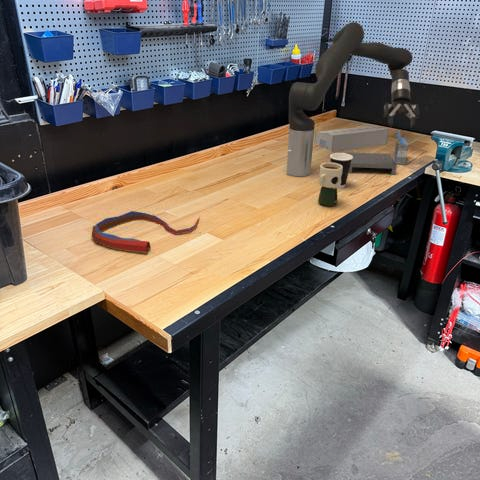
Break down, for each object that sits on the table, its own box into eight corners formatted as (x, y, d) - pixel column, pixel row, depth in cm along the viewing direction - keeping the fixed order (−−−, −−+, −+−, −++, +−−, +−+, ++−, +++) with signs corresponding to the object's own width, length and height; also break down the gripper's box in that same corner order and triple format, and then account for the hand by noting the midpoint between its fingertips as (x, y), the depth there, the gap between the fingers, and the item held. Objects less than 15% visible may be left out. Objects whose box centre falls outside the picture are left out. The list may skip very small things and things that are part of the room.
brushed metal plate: (347, 173, 177) (348, 163, 175) (343, 161, 189) (344, 152, 187) (395, 174, 175) (396, 164, 173) (388, 163, 188) (389, 153, 186)
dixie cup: (323, 182, 167) (326, 153, 162) (343, 180, 169) (346, 152, 164) (332, 190, 161) (335, 160, 155) (353, 188, 162) (357, 158, 157)
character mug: (327, 211, 145) (331, 172, 139) (308, 205, 149) (312, 167, 143) (345, 202, 152) (350, 164, 145) (327, 196, 156) (331, 159, 150)
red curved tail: (165, 206, 150) (163, 191, 148) (214, 222, 137) (213, 207, 134) (81, 241, 129) (78, 225, 127) (130, 264, 116) (127, 247, 114)
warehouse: (366, 137, 224) (369, 122, 220) (386, 145, 212) (388, 129, 208) (314, 144, 213) (315, 127, 210) (331, 152, 201) (333, 135, 198)
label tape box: (405, 165, 186) (410, 135, 180) (394, 164, 186) (400, 134, 181) (402, 158, 193) (408, 129, 188) (392, 158, 194) (397, 129, 188)
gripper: (414, 98, 199) (416, 131, 194) (381, 97, 200) (382, 130, 195) (420, 88, 192) (422, 122, 187) (386, 87, 193) (386, 120, 188)
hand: (401, 126), depth 191 cm, fingers open, 8 cm apart
